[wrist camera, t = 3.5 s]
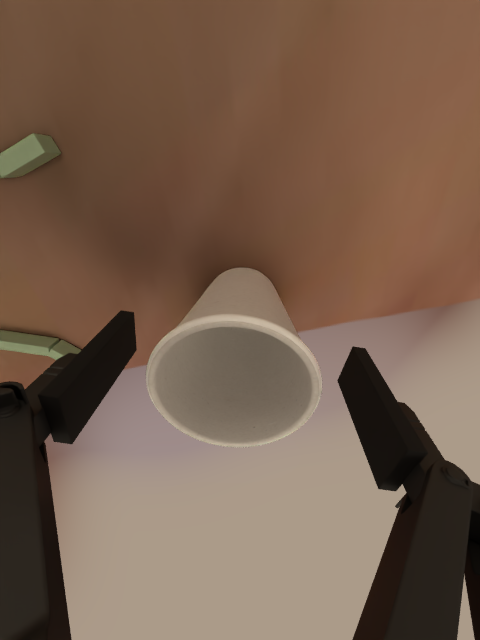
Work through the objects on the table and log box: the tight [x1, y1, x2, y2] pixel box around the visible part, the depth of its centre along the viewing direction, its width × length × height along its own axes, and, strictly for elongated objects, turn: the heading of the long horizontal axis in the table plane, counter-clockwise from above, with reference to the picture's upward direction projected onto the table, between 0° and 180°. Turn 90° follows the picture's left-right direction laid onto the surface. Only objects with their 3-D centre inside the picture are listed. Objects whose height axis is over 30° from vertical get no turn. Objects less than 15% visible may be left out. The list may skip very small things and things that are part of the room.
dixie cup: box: [146, 267, 322, 447], centre depth 17 cm, size 8×8×10 cm
